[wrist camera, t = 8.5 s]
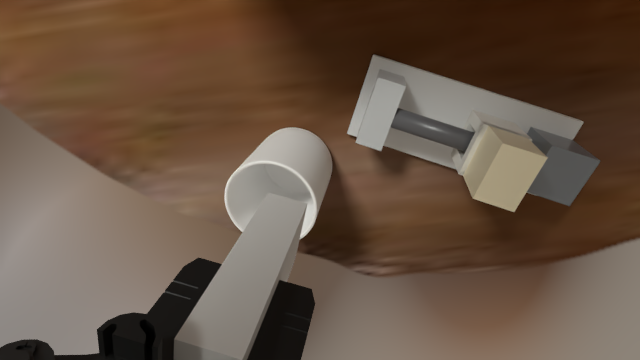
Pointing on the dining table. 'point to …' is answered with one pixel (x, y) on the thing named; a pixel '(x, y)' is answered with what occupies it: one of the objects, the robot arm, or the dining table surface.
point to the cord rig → (462, 124)
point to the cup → (281, 176)
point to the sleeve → (498, 161)
